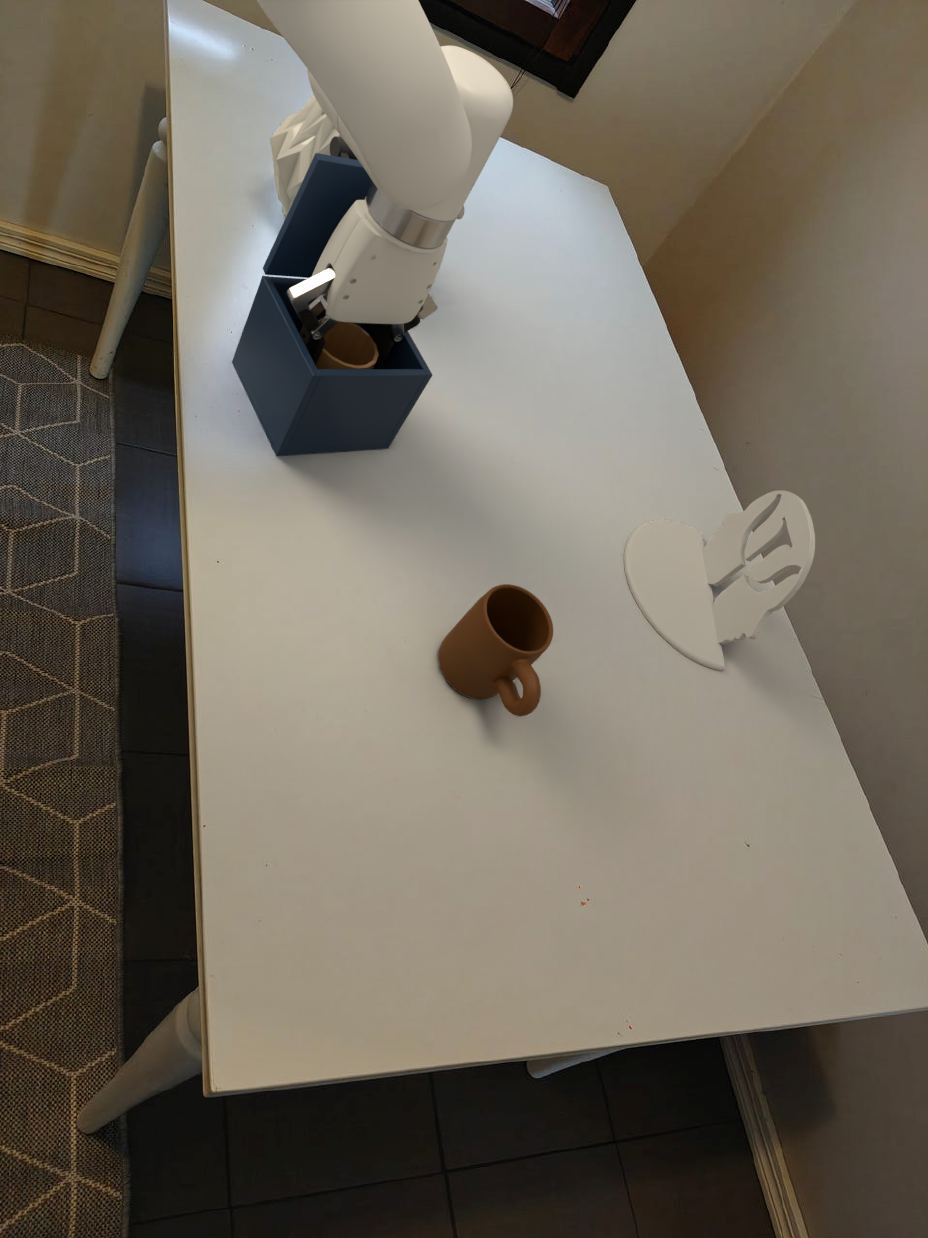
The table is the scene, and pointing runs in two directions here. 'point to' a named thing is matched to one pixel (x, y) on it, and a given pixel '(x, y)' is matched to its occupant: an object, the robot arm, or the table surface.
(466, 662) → the mug
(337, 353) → the wooden cup
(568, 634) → the table surface
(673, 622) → the ornament
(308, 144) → the vase
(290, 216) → the cooler lid
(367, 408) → the cooler
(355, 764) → the table surface
